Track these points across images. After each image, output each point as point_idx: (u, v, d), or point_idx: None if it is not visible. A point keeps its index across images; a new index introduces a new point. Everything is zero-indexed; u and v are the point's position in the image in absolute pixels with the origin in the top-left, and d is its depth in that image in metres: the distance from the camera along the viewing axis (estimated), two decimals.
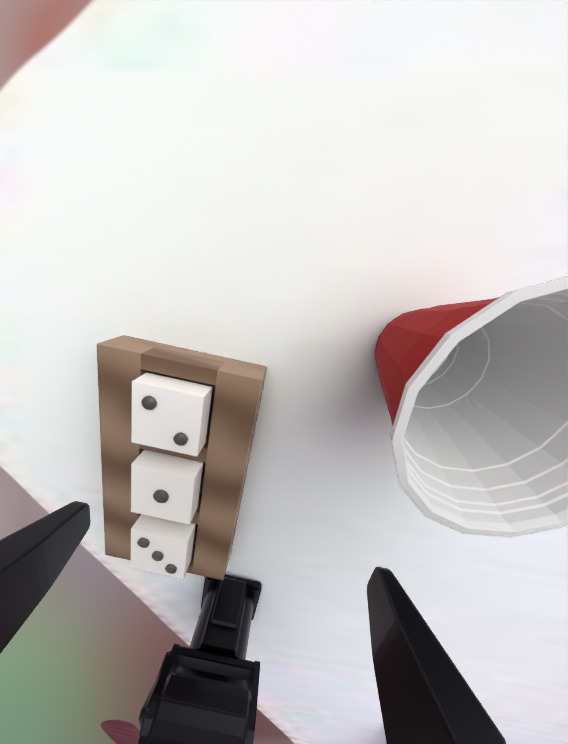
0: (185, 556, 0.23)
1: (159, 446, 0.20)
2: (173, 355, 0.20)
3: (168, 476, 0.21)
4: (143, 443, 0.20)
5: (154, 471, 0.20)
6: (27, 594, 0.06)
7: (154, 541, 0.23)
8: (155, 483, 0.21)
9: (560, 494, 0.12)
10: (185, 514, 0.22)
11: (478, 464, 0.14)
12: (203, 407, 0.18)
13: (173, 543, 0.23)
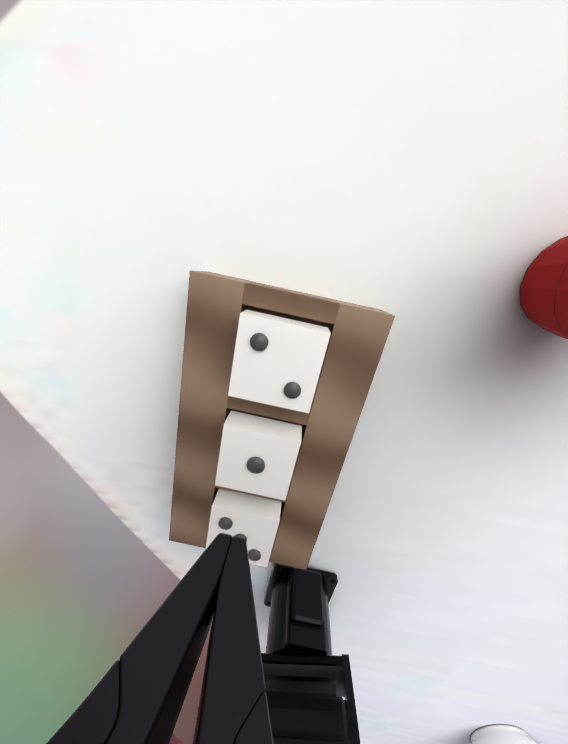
0: (273, 540, 0.20)
1: (262, 400, 0.16)
2: (278, 289, 0.16)
3: (267, 440, 0.17)
4: (243, 397, 0.16)
5: (251, 434, 0.17)
6: (204, 632, 0.06)
7: (238, 522, 0.19)
8: (250, 449, 0.17)
9: None
10: (282, 487, 0.18)
11: None
12: None
13: (261, 524, 0.19)
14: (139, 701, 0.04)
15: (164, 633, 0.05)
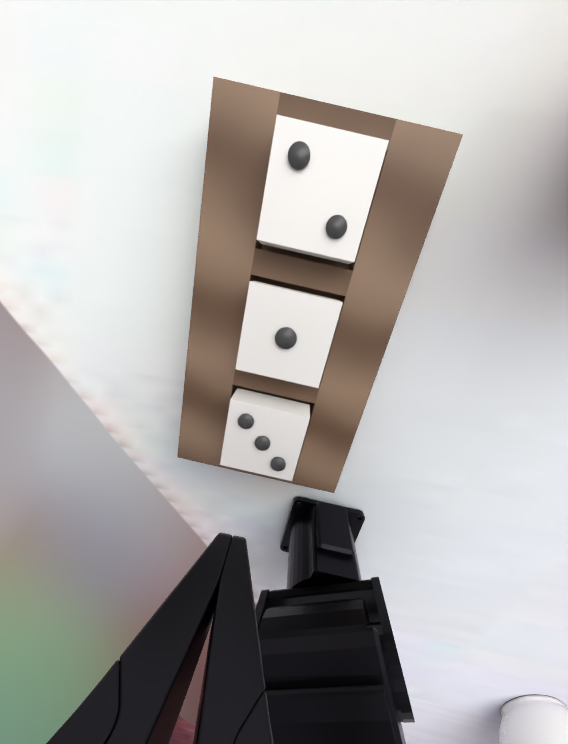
0: (301, 443, 0.17)
1: (298, 245, 0.13)
2: None
3: (301, 303, 0.14)
4: (274, 240, 0.13)
5: (282, 294, 0.14)
6: (204, 632, 0.06)
7: (261, 420, 0.16)
8: (279, 316, 0.14)
9: None
10: (316, 370, 0.15)
11: None
12: (380, 166, 0.12)
13: (288, 422, 0.16)
14: (139, 701, 0.04)
15: (164, 633, 0.05)
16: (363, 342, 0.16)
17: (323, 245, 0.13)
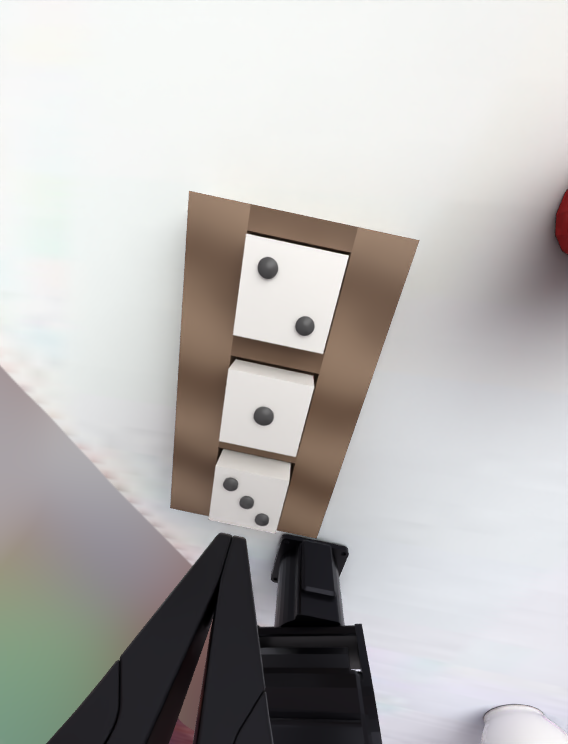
0: (282, 502, 0.18)
1: (271, 340, 0.14)
2: None
3: (277, 386, 0.15)
4: (249, 336, 0.14)
5: (258, 380, 0.15)
6: (204, 632, 0.06)
7: (245, 483, 0.18)
8: (257, 398, 0.16)
9: None
10: (293, 442, 0.16)
11: None
12: None
13: (269, 484, 0.18)
14: (139, 701, 0.04)
15: (164, 633, 0.05)
16: (337, 412, 0.17)
17: (294, 340, 0.14)
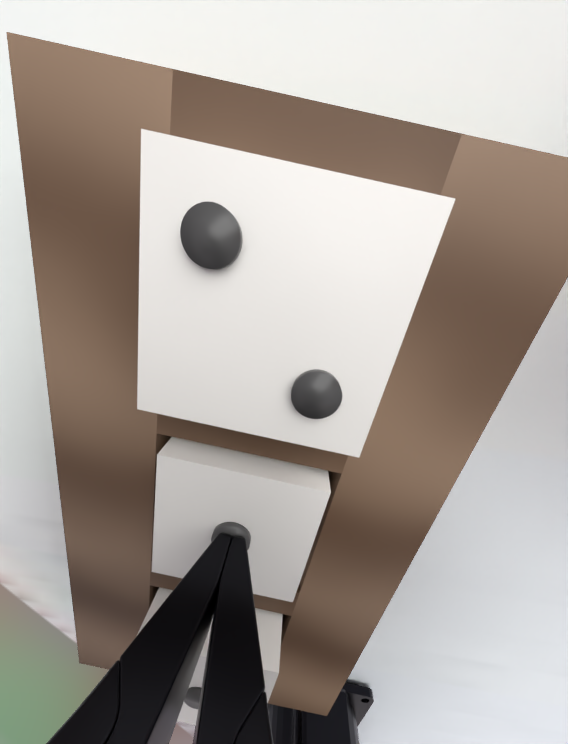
0: None
1: (232, 423, 0.06)
2: None
3: (255, 490, 0.08)
4: (178, 413, 0.06)
5: (218, 476, 0.08)
6: (204, 632, 0.06)
7: None
8: (217, 507, 0.08)
9: None
10: (287, 580, 0.09)
11: None
12: None
13: None
14: (139, 701, 0.04)
15: (164, 634, 0.05)
16: (375, 541, 0.09)
17: (288, 425, 0.06)
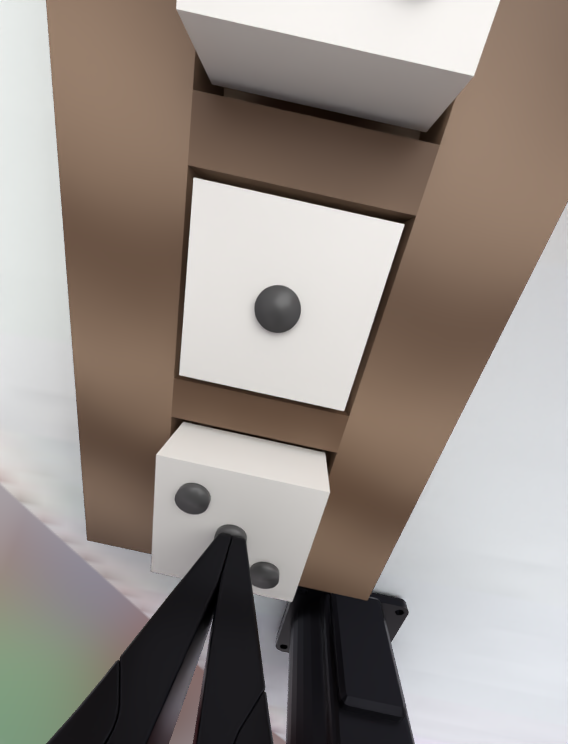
0: (311, 540, 0.08)
1: (305, 23, 0.04)
2: None
3: (311, 228, 0.06)
4: (231, 10, 0.04)
5: (267, 209, 0.06)
6: (204, 632, 0.06)
7: (226, 496, 0.08)
8: (263, 262, 0.07)
9: None
10: (340, 376, 0.07)
11: None
12: None
13: (282, 500, 0.08)
14: (139, 701, 0.04)
15: (164, 633, 0.05)
16: (448, 327, 0.07)
17: (382, 18, 0.04)
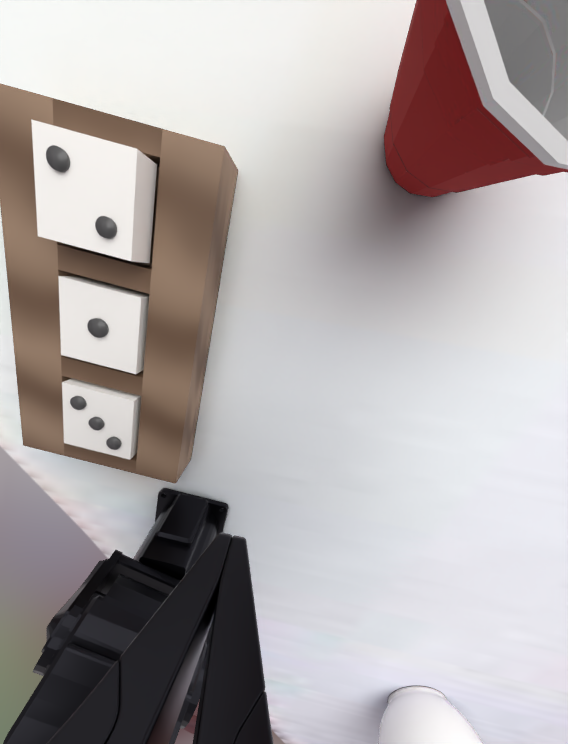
0: (131, 425, 0.19)
1: (77, 243, 0.14)
2: None
3: (106, 297, 0.16)
4: (54, 238, 0.14)
5: (88, 289, 0.16)
6: (204, 632, 0.06)
7: (93, 402, 0.18)
8: (90, 308, 0.16)
9: None
10: (130, 358, 0.17)
11: None
12: (138, 172, 0.13)
13: (116, 404, 0.18)
14: (139, 701, 0.04)
15: (164, 633, 0.05)
16: (174, 338, 0.17)
17: (100, 244, 0.14)
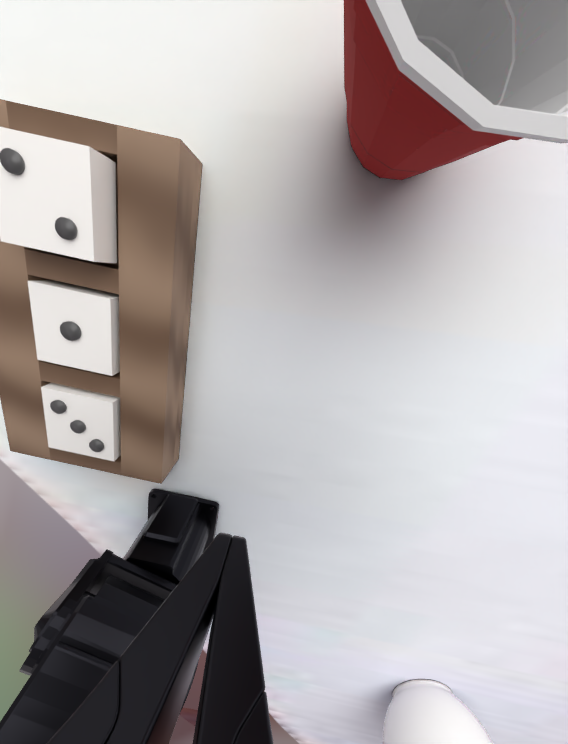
0: (112, 426, 0.19)
1: (40, 246, 0.14)
2: None
3: (76, 299, 0.16)
4: (17, 242, 0.14)
5: (57, 292, 0.16)
6: (204, 632, 0.06)
7: (72, 405, 0.18)
8: (61, 312, 0.16)
9: None
10: (105, 359, 0.17)
11: None
12: (93, 171, 0.13)
13: (95, 407, 0.18)
14: (139, 701, 0.04)
15: (164, 634, 0.05)
16: (147, 338, 0.17)
17: (62, 246, 0.14)
